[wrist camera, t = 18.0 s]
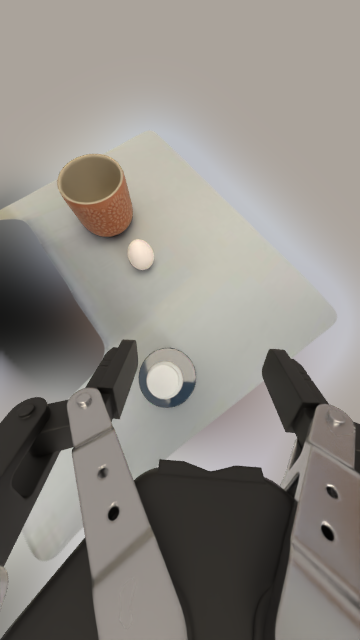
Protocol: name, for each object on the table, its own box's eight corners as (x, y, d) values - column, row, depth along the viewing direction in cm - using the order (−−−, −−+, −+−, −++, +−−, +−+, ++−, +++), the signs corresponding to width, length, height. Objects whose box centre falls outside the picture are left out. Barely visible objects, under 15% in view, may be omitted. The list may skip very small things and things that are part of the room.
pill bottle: (171, 356, 28) (167, 351, 21) (188, 381, 27) (191, 385, 20) (146, 374, 28) (133, 376, 20) (164, 400, 27) (157, 412, 19)
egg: (141, 250, 43) (133, 227, 36) (160, 261, 43) (156, 239, 35) (128, 268, 42) (117, 247, 35) (147, 279, 41) (140, 260, 34)
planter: (119, 193, 48) (102, 143, 37) (147, 226, 45) (136, 182, 34) (76, 218, 46) (45, 172, 35) (102, 253, 43) (76, 216, 33)
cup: (202, 365, 37) (208, 364, 28) (180, 409, 35) (179, 423, 26) (162, 343, 38) (156, 335, 29) (138, 384, 36) (124, 389, 27)
